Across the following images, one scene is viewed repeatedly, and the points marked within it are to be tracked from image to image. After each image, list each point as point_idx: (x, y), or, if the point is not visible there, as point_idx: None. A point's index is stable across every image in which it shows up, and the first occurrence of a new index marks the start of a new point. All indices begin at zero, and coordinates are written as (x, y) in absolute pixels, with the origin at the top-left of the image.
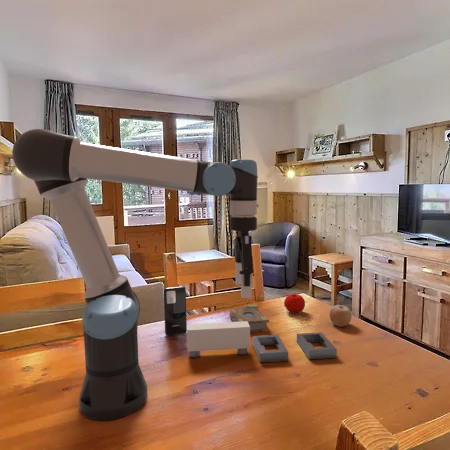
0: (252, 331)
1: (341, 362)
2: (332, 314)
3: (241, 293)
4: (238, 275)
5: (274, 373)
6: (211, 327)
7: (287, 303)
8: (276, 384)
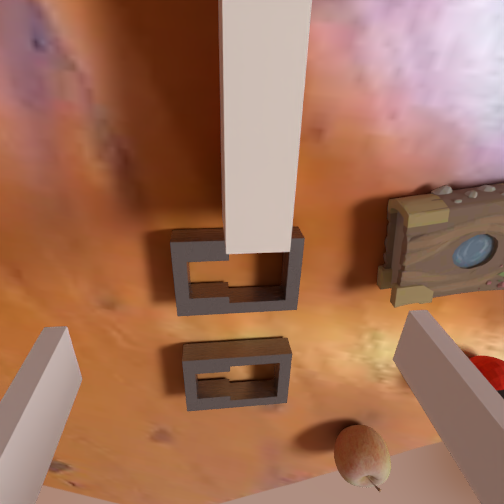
0: (387, 238)
1: (170, 394)
2: (361, 448)
3: (31, 353)
4: (443, 382)
5: (114, 255)
6: (243, 74)
7: (489, 375)
8: (54, 250)
